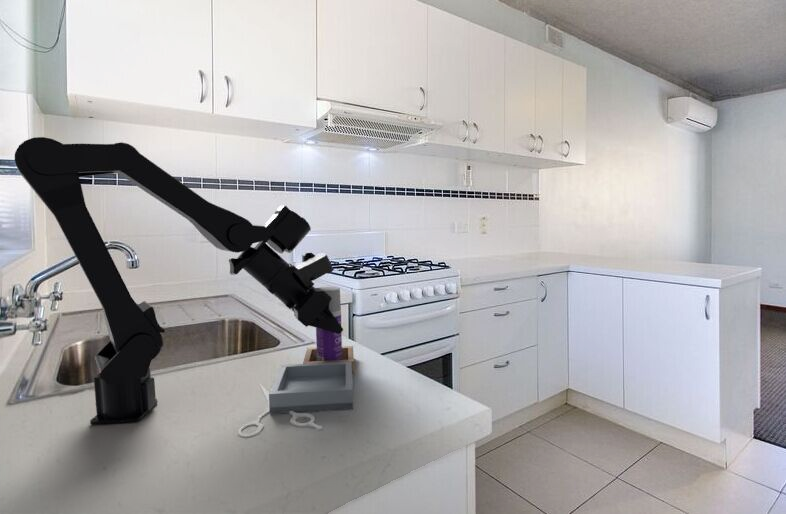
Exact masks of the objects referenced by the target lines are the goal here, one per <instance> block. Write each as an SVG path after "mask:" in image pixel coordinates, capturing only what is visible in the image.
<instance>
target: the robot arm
mask: <svg viewBox="0 0 786 514" xmlns="http://www.w3.org/2000/svg"><path fill="white" fill-rule="evenodd" d="M14 162H15V166H16V168H17V170H18V172H19V173H20V175H21V177H22V178H23V179H24V180H25V182H26V183H27V184H28V185H29V187H30V188H31V190H33V191H34V193H35V194H36V195H37V197H38V198H39V199H40V200H41V201H42V203H43V204H44V206H46V208H47V209H48V210H49V212H51V214H52V215H53V217H54V219H55V220H56V222H57V223H58V225H59V227H60V229H61V231H62V234H63V236H64V237H65V239H66V241H67V242H68V244H69V247H70V248H71V250H72V252H73V254H74V256H75V258H76V260H77V262H78V263H79V265H80V268H81V270H82V271H83V273H84V275H85V276H86V278H87V281H88V283H89V284H90V287H91V288H92V290H93V292H94V294H95V295H96V298H97V300H98V301H99V303H100V305H101V309H102V313H103V317H104V321H105V325H106V328H107V332H108V336H109V341H108V342H106V344H105V345H104V346H103V347H102V348H101V349H100V350H99V351H98V352H97V353H96V354H95V355H94V359H95V362H96V365H97V368H98V369H99V373H98V374H97V375H95V376H93V386H94V396H95V397H94V398H95V399H94V400H95V409H96V415H95V416H94V417H92V418H91V419H90V420H89V422H90V423H89V424H90V425H100V424H118V423H119V424H121V423H136V422H139V421H140V420H142V419H143V418H144V417H145V416H146V415H147V414H148V413H149V412H150V411H151V410H152V409H153V408H154V406H156V405H157V404H158V398H157V397H156V383H155V378H154V377H151V376H152V375H151V367H150V365H151V363H152V360H154V359H155V358H156V357H157V356H158V355H159V354H160V352H161V350H162V348H163V346H164V340H163V336H162V334H161V333H163V334H164V333H165V332H166V330H165V329H164V328H163V327H162V326H161V325H160V323H158V319H157V316H156V312H155V308H154V307H153V306H152V305H150V304H149V303H148V302H147V301H145V300H144V301H142V302H140V303H139V304H137V302H136V301H135V300H134V298H133V297H132V296H131V294H130V292H129V289H128V287H127V285H126V283H125V280H123V278H122V275H121V273H120V272H119V270H118V267H117V266H116V263H115V262H114V260H113V258H112V255H111V253H110V252H109V249H108V247H107V246H106V243H105V241H104V240H103V238H102V236H101V234H100V232H99V230H98V228H97V226H96V223H95V221H94V220H93V217H92V216H91V213H90V212H89V210H88V208H87V205H86V201H85V197H84V192H83V188H82V187H83V186H82V183H81V179H80V178H82V177H83V178H84V177H92V176H101V175H109V174H111V175H112V174H117V175H120V176H121V177H123V178H124V179H126V180H127V181H129V182H130V183H131V184H133V185H135V186H137V187H138V188H139V189H141V190H142V191H144V192H146V194H148V195H149V196H151V197H153V198H154V199H156V200H157V201H159V202H161V204H164V205H165V206H167V207H168V208H169V209H171V210H173V211H174V212H175V213H177V214H178V215H179V216H181V217H183V218H185V219H186V220H187V221H189V222H190V223H191V224H192V225H193V226H194V227H195V228H196V229H197V231H198V232H199V234H200V235H202V236H203V237H204V238H205V239H206V240H207V241H208V242H209V243H210V244H211V245H213V246H214V247H215V248H216V249H218V250H221V251H226V252H231V253H235V254H236V253H240V254H239V255H238V257H236V258H235V257H232V258H229V259H228V262H229V274H230V275H232V276H233V275H238V274H239V273H240V272H241V271H242V269H243V270H244V271H245V272H246V273H247V274H249V275H250V276H251V277H252V278H253V279H255V280H256V281H257V282H258V283H259V284H260V285H262V286H263V287H264V288H265V289H266V290H267V291H268V293H270V294H271V295H273V296H274V297H276V299H278V300H280V301H281V303H283V304H284V305H285V306H286V307H287V308H288V309H289V310H292V312H293V316H294V317H295V319H296V320H297V321H298V322H300V323H301V324H302V325H303V326H305V328H307V327H311V328H312V327H313V328H315V329H316V328H320V329H323V330H327V331H330V332H334V333H337V334H340V333H341V332H344V328H343V327H342V324H341V325H340V324H339V322H338V321H337V320H336V318H335V317H334V315H333V314H332V313H331V311H330V310H329V303H330V301H331V299H332V298H331V297H330V296H329V295H328V294H327V293H326V292H325V291H323V290H322V289H320V287H315V286H314V285H315V283H314V282H313V281H315V280H317V279H319V278H321V277H322V276H325V275H326V274H331V273H332V272H333V271H334V270H335V269H334V267H333V265H332V263H331V260H330V259H329V257H328V255H327V253H323V252H321V253H316V255H315V254H314V253H312V252H310V251H307V252H305V253H303V254H302V255H301V257H302V258H301V259H302V260H301V261H300V262H299V264H298V265H296V266H295V265H293V264H292V263H289V262H287V261H286V260H285V259H284V258H283V257H282V256H281V255H282V254H283V253H285V252H286V253H289V254H291V253H292V252H293V251H294V249H296V248H297V246H298V245H299V244H300V243H301V241H303V239H304V238H305V237H306V236H307V235H308V234H309V232H310V231H311V230H312V229H311V228H312V227H311V225H310V224H309V222H308V221H307V220H306V219H305V218H304V217H302V216H301V215H299V214H298V213H297V212H295V211H293V210H291V209H289V208H288V206H287V205H280V206H278V208H277V209H276V210H275V212H274V213H273V215H272V216H271V217H270V218H269V219H268V220H267V221H266V222H265V223H264V224H263V225H262V224H261V225H259V224H253V223H251V221H250V220H248V219H247V218H245V217H243V216H241V215H240V214H236V213H235V212H233V211H231V210H229V209H225V208H223V207H221V206H219V205H216V204H213V203H212V202H210V201H208V200H206V198H204V197H202V196H201V195H199V194H198V193H197V192H195V191H193V189H191V188H190V187H188V186H186V185H185V184H184V183H182V182H181V181H179V180H178V179H177V178H175V177H174V176H173V175H171V174H170V173H168V172H167V171H166V170H164V169H163V168H161V167H160V166H158V165H157V164H156V163H154V162H153V161H151V160H150V159H149V158H147V157H146V156H144V155H143V154H141V153H140V151H138V149H137V148H136V147H135V146H133V145H131V144H129V143H126V142H115V143H61V142H60V141H58V140H56V139H54V138H49V137H45V136H39V137H32V138H29V139H26V140H24V141H22V143H20V144H19V145H18V147H17V148H16V150H15V152H14ZM256 243H257V244H256ZM253 244H256V245H255V246H254V247H253ZM278 253H279V254H278ZM280 254H281V255H280Z"/></svg>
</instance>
